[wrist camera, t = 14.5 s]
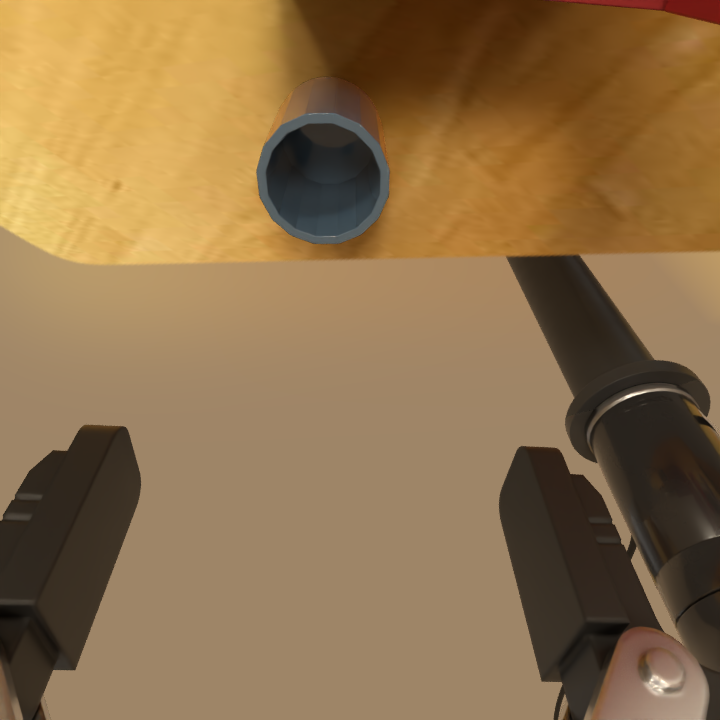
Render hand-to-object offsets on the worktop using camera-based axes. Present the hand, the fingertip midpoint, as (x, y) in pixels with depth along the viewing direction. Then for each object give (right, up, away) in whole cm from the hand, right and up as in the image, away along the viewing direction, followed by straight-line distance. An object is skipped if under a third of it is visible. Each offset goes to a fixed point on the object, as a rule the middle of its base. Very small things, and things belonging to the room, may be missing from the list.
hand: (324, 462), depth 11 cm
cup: (-1, +16, +21) cm, 26 cm away
